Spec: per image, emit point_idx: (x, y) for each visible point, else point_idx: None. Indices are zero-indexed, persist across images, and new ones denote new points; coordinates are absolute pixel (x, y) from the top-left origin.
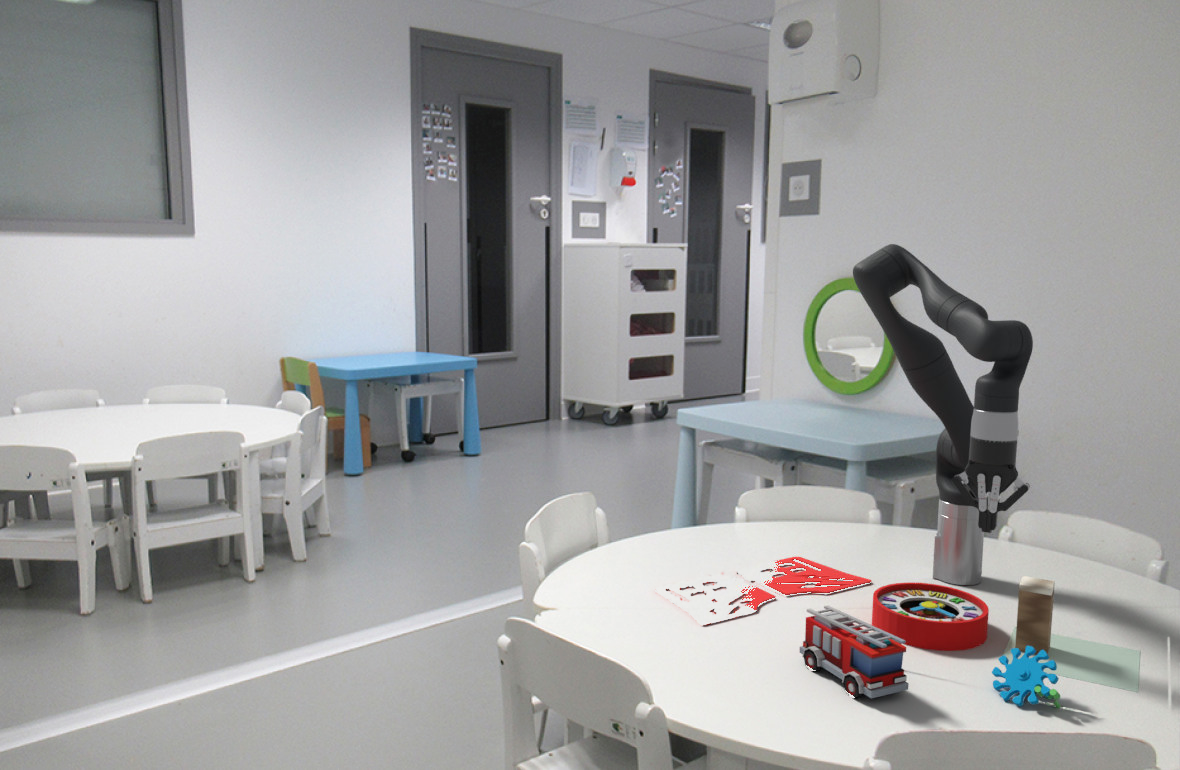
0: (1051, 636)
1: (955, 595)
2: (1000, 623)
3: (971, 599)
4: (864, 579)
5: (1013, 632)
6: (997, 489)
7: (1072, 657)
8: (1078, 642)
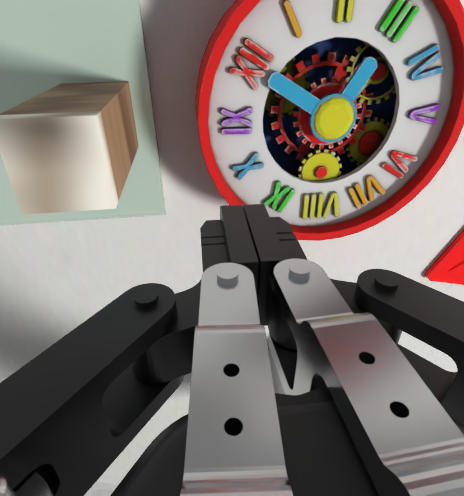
0: None
1: None
2: (194, 224)
3: None
4: (440, 275)
5: (159, 183)
6: (210, 422)
7: None
8: None
